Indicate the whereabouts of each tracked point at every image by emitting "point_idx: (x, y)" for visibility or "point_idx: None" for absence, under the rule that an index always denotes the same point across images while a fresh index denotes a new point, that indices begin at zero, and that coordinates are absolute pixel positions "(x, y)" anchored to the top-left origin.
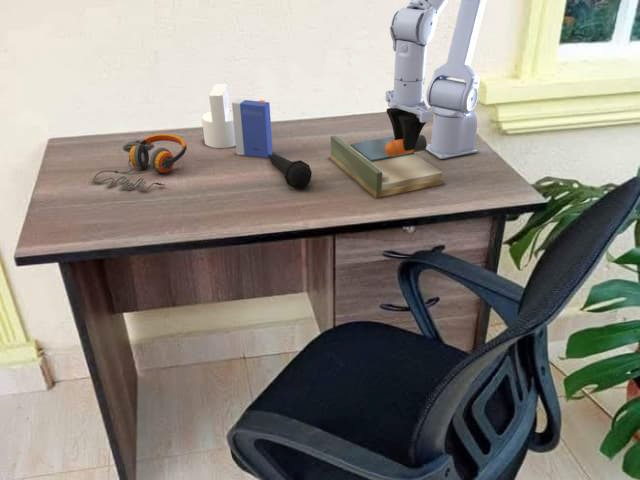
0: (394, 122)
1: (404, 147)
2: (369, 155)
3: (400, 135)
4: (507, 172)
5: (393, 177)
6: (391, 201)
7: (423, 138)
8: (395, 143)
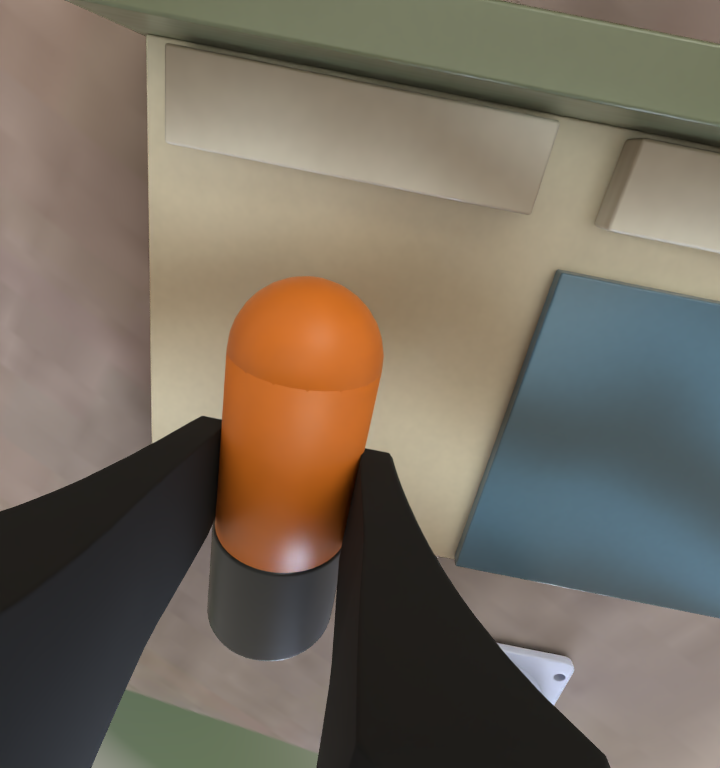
0: (358, 611)
1: (201, 425)
2: (638, 319)
3: (350, 532)
4: (157, 690)
5: (224, 221)
6: (86, 68)
7: (219, 628)
8: (248, 384)
